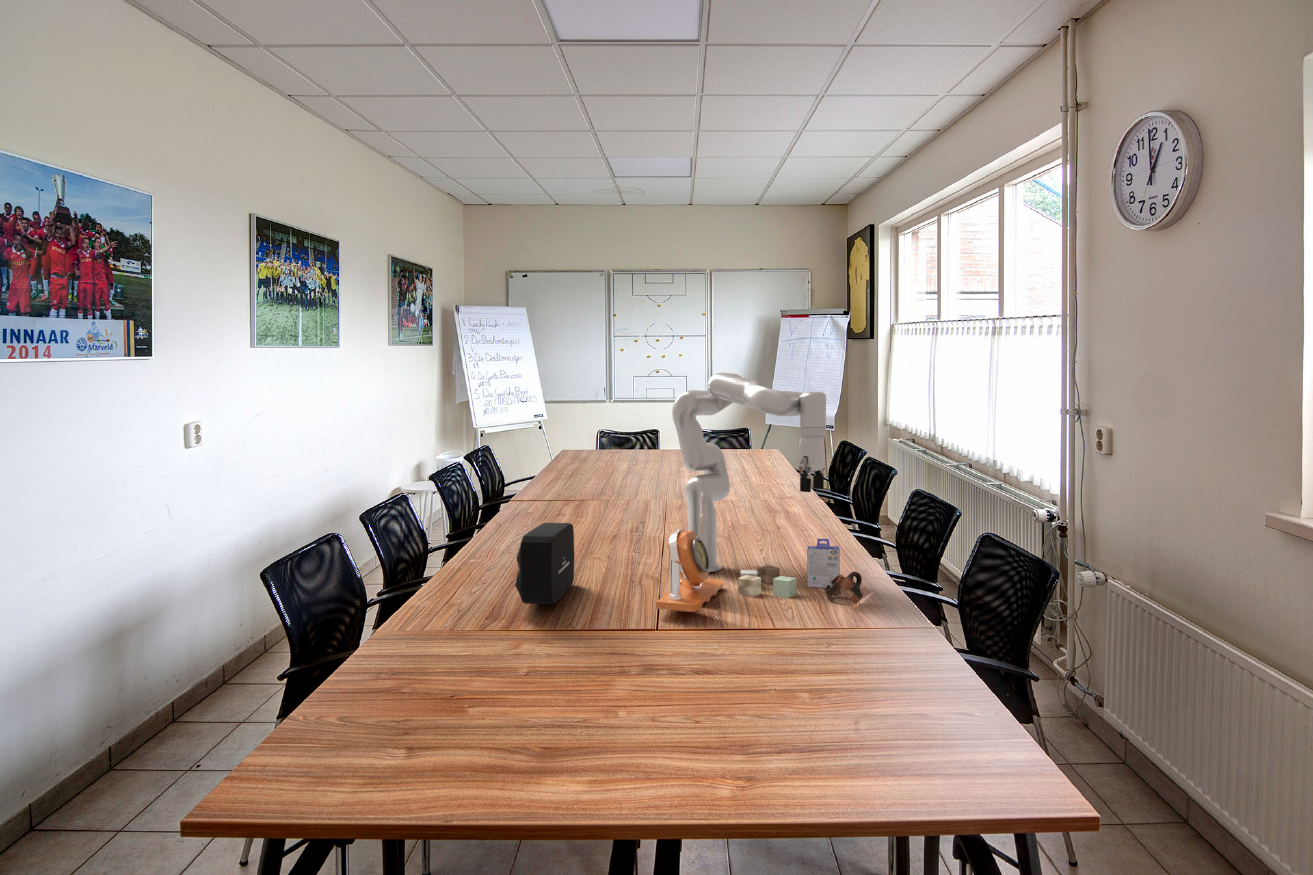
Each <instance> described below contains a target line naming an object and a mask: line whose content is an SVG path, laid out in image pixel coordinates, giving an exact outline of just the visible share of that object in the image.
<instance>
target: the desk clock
mask: <svg viewBox="0 0 1313 875" xmlns="http://www.w3.org/2000/svg"><path fill="white" fill-rule="evenodd" d="M667 547H668V553H669V557H670V558H669V559H670V591H669V592H667V593H666V594H665V595H663V596H662V597H661V598H659V599H658V600H657V601H655V608H656V609H659V610H667V611H669V610H670V611H679V612H688V613H691V612H692V613H693V612H697V611H699V610H702V608H703V604H704V603H709V602H710V599H711V598H712V597H715V596H717V594H718V591H721V590H723V589H724V581H723V580H721V579H712V578H711V579H710V578H709V576H710V572H708V571H709V569H710V561H709V556H708V552H707V549H706V547H705V545H704V543H703V541H702V540H701V539H700V538H699V537H698V536H697V535H696V534H695V532H694V531H693V530H690V531H688V530H686V529H684V528H680V529H677V530H674V531H673V532H671V534H670V537H669V541H668V543H667Z"/></svg>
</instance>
